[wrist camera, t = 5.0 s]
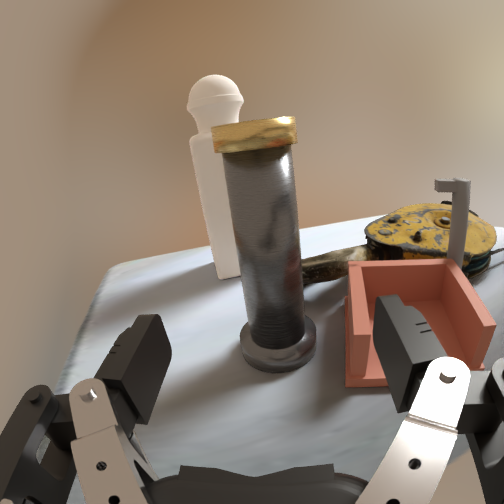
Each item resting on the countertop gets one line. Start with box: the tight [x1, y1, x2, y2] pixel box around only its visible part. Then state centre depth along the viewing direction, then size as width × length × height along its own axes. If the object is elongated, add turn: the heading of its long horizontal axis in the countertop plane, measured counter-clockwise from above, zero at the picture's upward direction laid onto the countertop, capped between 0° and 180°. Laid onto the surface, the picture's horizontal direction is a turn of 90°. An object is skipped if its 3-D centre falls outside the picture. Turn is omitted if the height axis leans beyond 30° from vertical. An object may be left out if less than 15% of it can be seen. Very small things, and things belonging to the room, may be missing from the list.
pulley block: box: [301, 201, 504, 284], centre depth 31 cm, size 14×6×30 cm
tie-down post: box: [211, 117, 316, 373], centre depth 20 cm, size 6×6×16 cm
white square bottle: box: [187, 75, 244, 280], centre depth 33 cm, size 6×6×22 cm
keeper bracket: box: [345, 178, 496, 387], centre depth 19 cm, size 11×11×11 cm
